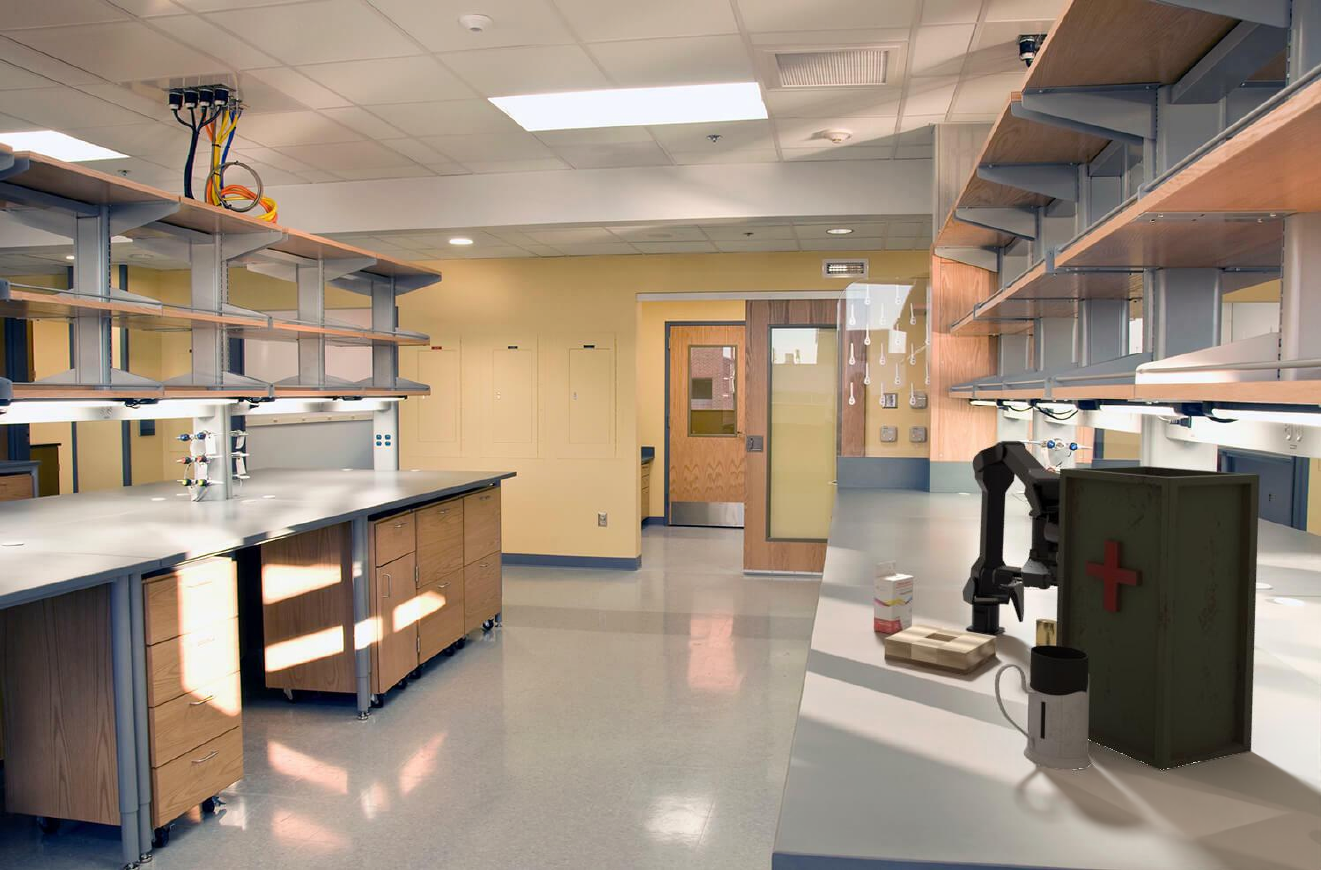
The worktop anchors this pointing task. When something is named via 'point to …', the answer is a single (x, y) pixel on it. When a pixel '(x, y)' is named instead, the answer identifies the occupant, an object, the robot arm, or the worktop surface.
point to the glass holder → (1055, 706)
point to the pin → (1045, 632)
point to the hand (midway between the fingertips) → (1046, 625)
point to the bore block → (941, 648)
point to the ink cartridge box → (892, 599)
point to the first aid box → (1161, 607)
